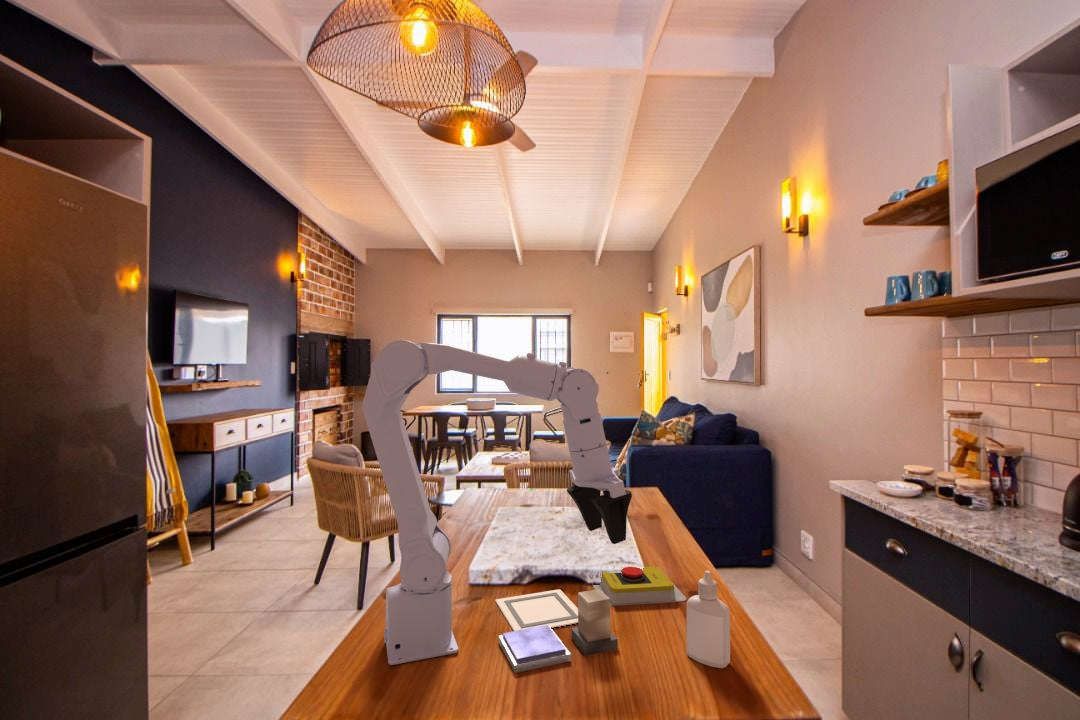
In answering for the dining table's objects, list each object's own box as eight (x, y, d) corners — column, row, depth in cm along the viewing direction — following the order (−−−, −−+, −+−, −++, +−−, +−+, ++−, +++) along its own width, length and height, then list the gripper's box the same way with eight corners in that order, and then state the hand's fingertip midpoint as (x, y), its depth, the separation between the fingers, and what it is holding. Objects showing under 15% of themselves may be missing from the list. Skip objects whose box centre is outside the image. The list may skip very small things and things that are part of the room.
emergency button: (591, 562, 96) (668, 558, 97) (591, 585, 96) (668, 581, 97) (603, 582, 86) (688, 578, 88) (603, 609, 86) (688, 604, 88)
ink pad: (514, 673, 67) (514, 661, 67) (498, 642, 75) (498, 632, 75) (570, 661, 70) (570, 650, 70) (549, 632, 78) (549, 622, 78)
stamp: (585, 656, 71) (585, 605, 71) (571, 638, 76) (571, 591, 76) (617, 649, 73) (617, 600, 73) (601, 632, 78) (601, 586, 78)
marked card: (516, 635, 77) (516, 632, 77) (495, 601, 88) (495, 598, 88) (588, 621, 81) (588, 619, 81) (559, 590, 92) (559, 588, 92)
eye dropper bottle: (709, 674, 67) (708, 582, 67) (682, 652, 72) (681, 566, 72) (735, 666, 69) (734, 577, 69) (706, 645, 74) (706, 562, 74)
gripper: (635, 444, 72) (655, 538, 72) (590, 436, 85) (607, 516, 85) (590, 457, 69) (611, 555, 69) (551, 447, 83) (569, 529, 83)
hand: (606, 534), depth 77 cm, fingers open, 7 cm apart
